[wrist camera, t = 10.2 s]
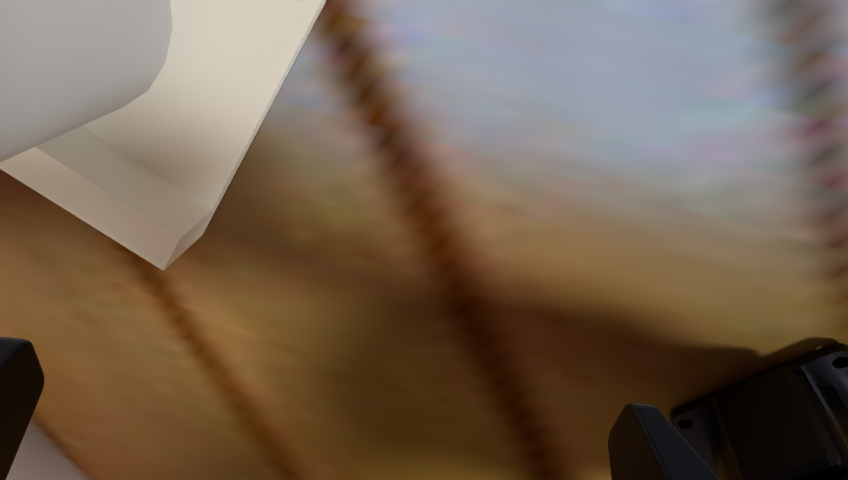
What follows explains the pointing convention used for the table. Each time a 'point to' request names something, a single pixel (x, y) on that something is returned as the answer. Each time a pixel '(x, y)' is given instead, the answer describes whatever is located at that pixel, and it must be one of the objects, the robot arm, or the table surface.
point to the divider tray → (175, 128)
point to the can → (74, 63)
